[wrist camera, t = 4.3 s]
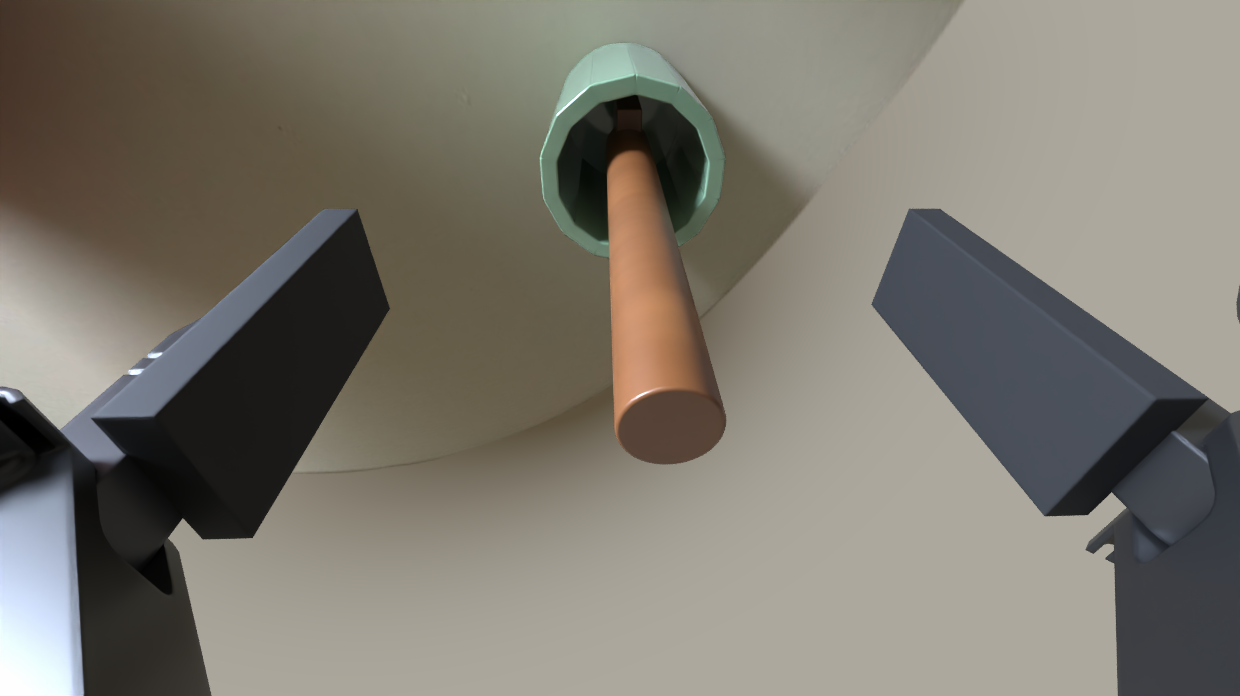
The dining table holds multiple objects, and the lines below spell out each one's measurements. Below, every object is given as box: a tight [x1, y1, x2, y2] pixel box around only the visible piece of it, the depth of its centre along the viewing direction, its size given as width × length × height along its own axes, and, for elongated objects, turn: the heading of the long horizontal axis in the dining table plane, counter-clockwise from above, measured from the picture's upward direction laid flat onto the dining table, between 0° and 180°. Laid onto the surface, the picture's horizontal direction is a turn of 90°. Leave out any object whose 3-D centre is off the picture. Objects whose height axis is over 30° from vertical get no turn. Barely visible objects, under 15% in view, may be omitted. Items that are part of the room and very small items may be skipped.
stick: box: [606, 95, 726, 464], centre depth 16 cm, size 2×3×20 cm, turn 0°
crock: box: [540, 42, 725, 258], centre depth 21 cm, size 6×6×9 cm
